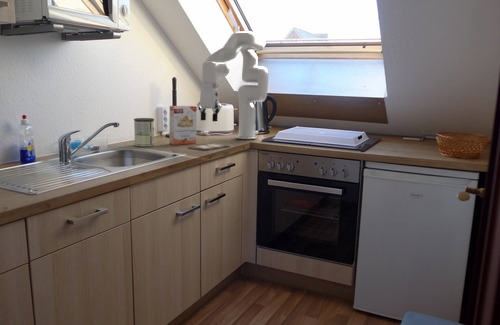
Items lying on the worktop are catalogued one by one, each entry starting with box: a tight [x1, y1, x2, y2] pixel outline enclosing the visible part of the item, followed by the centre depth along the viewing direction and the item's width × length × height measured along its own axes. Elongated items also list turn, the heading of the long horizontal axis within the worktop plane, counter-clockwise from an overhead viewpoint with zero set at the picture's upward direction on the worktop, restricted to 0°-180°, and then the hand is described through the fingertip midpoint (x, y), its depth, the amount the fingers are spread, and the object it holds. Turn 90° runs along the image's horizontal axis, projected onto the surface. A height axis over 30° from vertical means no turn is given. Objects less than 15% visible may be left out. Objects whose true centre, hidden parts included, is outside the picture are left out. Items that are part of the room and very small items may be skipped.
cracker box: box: [168, 105, 198, 146], centre depth 246 cm, size 14×6×21 cm, turn 125°
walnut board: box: [187, 143, 230, 152], centre depth 236 cm, size 19×12×1 cm, turn 143°
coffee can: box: [133, 117, 155, 147], centre depth 238 cm, size 10×10×14 cm
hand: (209, 120), depth 233 cm, fingers open, 7 cm apart
